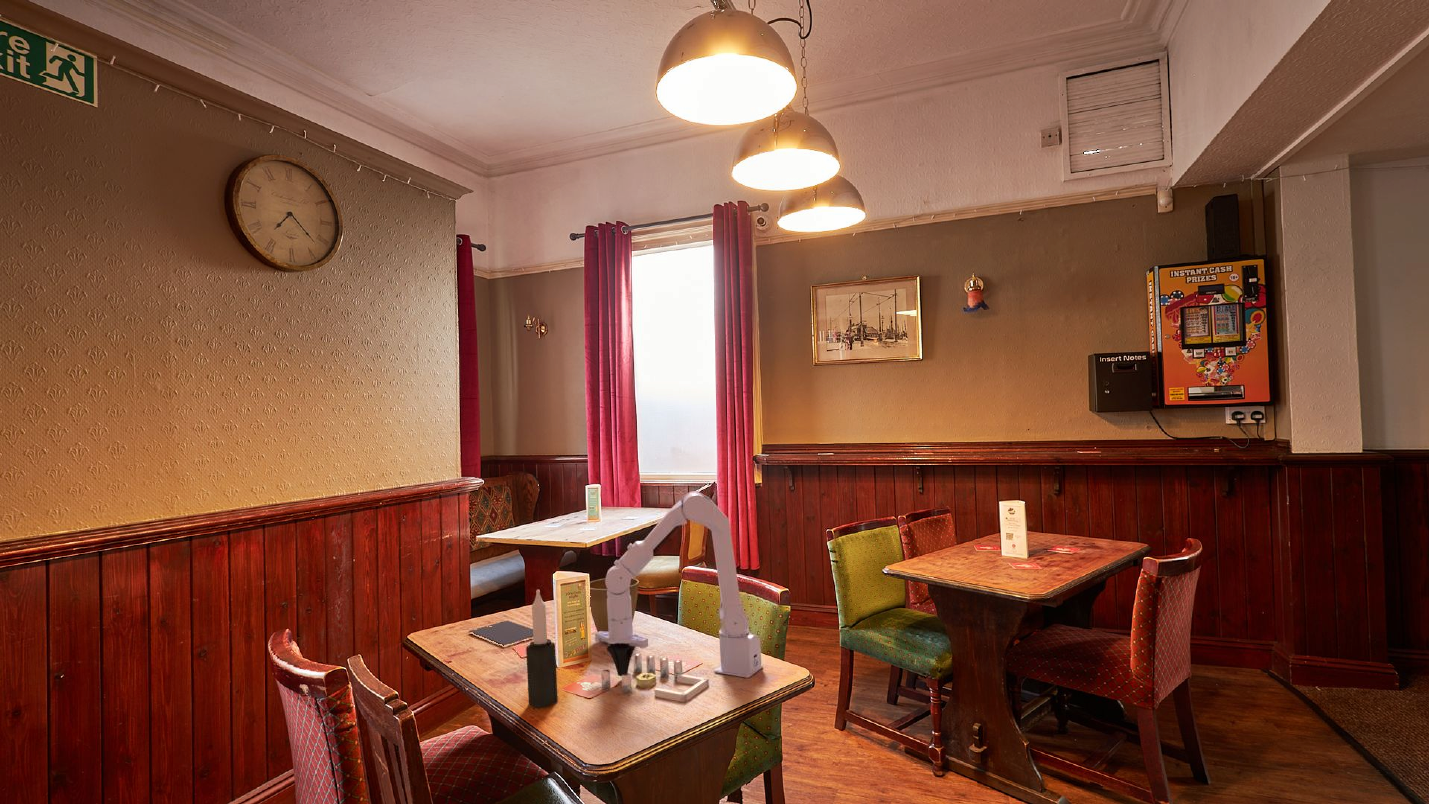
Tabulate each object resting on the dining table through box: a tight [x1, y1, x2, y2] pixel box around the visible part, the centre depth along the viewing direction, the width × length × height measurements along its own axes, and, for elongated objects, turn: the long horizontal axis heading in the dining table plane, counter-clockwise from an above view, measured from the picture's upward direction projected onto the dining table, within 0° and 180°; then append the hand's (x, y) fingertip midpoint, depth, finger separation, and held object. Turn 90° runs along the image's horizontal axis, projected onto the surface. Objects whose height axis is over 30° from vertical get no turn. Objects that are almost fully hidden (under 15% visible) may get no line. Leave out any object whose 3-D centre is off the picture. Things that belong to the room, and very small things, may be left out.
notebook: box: [468, 620, 533, 646], centre depth 205 cm, size 13×2×21 cm
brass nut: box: [635, 672, 657, 689], centre depth 161 cm, size 4×5×2 cm
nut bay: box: [654, 674, 710, 703], centre depth 156 cm, size 8×10×2 cm
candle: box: [525, 589, 559, 710], centre depth 154 cm, size 5×5×25 cm
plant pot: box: [589, 578, 640, 645], centre depth 196 cm, size 15×15×16 cm
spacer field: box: [600, 652, 684, 696], centre depth 162 cm, size 14×14×4 cm
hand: (622, 674), depth 165 cm, fingers closed
